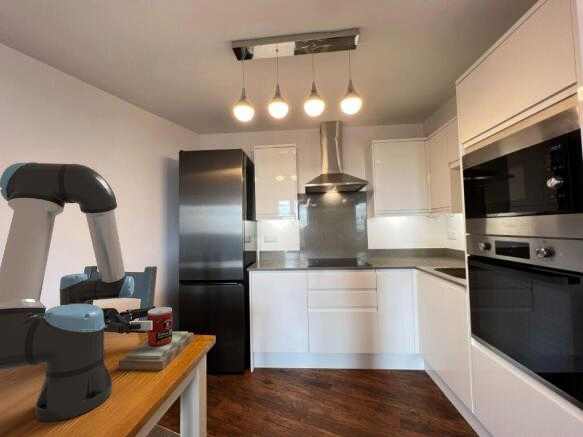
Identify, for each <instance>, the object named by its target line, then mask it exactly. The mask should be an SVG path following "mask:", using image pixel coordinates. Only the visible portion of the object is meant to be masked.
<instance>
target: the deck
mask: <svg viewBox="0 0 583 437" xmlns="http://www.w3.org/2000/svg"><path fill="white" fill-rule="evenodd" d="M194 340H195V334H194V332H189V331H172V341H171V342H170V343H168V344H166V345H163V346H159V347H152V346H150V345H149V344H148V339H147V340H146V341H145V342H143V343H142V344H140V345H138V347H136V348H135V349H133V350H132V351H130V352H129V353H128V354H127V355H125V356H123V357H122V358H121V359H119V360H118V370H144V371H145V370H151V371H152V370H153V371H155V370H156V371H158V370H159V371H163V370H164V369H165V368H166V367H167V366H169V365H170V364H171V362H172V361H173V360H174V359H176V358H177V356H178V355H180V354H181V352H182V351H184V350H185V349H186V348H187V347H188V345H190V344H192V342H193V341H194Z"/></svg>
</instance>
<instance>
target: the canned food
mask: <svg viewBox="0 0 583 437" xmlns="http://www.w3.org/2000/svg"><path fill="white" fill-rule="evenodd" d="M147 321H152V330H147V340H148V344H149V345H150V346H152V347H159V346H163V345H166V344H168V343H170V342H171V341H172V332H173V308H172V307H169V306H160V307H156V308H154V309H151V310H149V311H148V316H147Z"/></svg>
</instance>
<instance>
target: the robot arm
mask: <svg viewBox="0 0 583 437" xmlns="http://www.w3.org/2000/svg"><path fill="white" fill-rule="evenodd" d="M0 188H1V189H0V194H1V196H2V197H3V199H4V200H5V202H7V206H8V207H9V208H10V209H12V210H13V214H12V218H11V222H10V226H9V230H8V234H7V238H6V242H5V246H4V251H3V254H2V258H1V261H0V262H1V263H0V371H4V370H10V369H11V370H13V369H18V368H25V367H33V366H40V365H44V367H45V368H44V369H45V371H44V372H45V376H44V377H45V378H44V381H43V384H42V385H41V388H40V391H39V394H38V397H37V399H36V401H35V402H36V403H35V406H34V409H35V410H34V413H35V414H34V415H35V418H36V419H37V420H38V421H40V422H47V423H48V422H49V423H51V422H59V421H64V420H68V419H72V418H74V417H78V416H80V415H83V414H85V413H87V412H90V411H92V410H93V409H95V408H97V407H99V406H100V405H101V404H103V403H105V401H107V399H109V397H110V396H111V395H112V393H113V380H112V377H111V374H110V373H109V370H108V368H107V366H106V363H105V332H112V333H117V334H120V335H121V334H122V335H123V334H124V333H125V334H126V335H128V334H130V333H131V331H148V330H152V321H148V320H138V319H143V318H148V311H149V310H151V309H154V308H157V307H156V306H155V305H152V306H148V307H140V308H135V309H133V308H132V309H126V310H125V311H120V312H119V311H118V309H117V308H115V307H104V308H103V307H100V306H98V305H95V304H92V303H91V304H90V303H88V302H90V301H92V302H93V301H100V300H101V301H102V300H114V299H117V300H119V299H125V298H129V297H131V296H133V294H134V292H135V279H134V277H133V276H129V275H128V276H127V275H126V271H125V264H124V260H123V254H122V248H121V242H120V236H119V231H118V226H117V224H118V223H117V219H116V214H115V210H117V208H118V202H117V197H116V195H115V192H114V191H113V188H112V187H111V185H110V184H109V182H108V181H107V180H106V178H104V177H103V175H101V174H99V173H98V172H97V171H96V170H95V169H93V168H91V167H89V166H87V165H84V164H79V163H55V162H54V163H53V162H52V163H51V162H50V163H49V162H48V163H47V162H46V163H45V162H36V161H28V162H15V163H13V164H11V165H9V166H7V168H5V170H4V171H3V172H2V173H1V177H0ZM66 204H78V206H79V210H80V212H81V213H83V214H85V218H86V222H87V226H88V231H89V236H90V239H91V240H90V241H91V244H92V248H93V252H94V256H95V263H96V267H97V270H98V275H99V277H98V278H89V277H88V274H87V273H72V274H66V275H64V276H62V277H61V278H60V283H59V305H56V306H53V307H50V308H48V309H47V306H46V305H44V303H42V302H41V295H42V290H43V287H44V286H43V284H44V280H45V275H46V268H47V264H48V258H49V252H50V248H51V243H52V239H53V232H54V226H55V223H56V222H55V221H56V217H57V216H58V215H60V214H62V213H63V212H64V210H65V205H66Z"/></svg>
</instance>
